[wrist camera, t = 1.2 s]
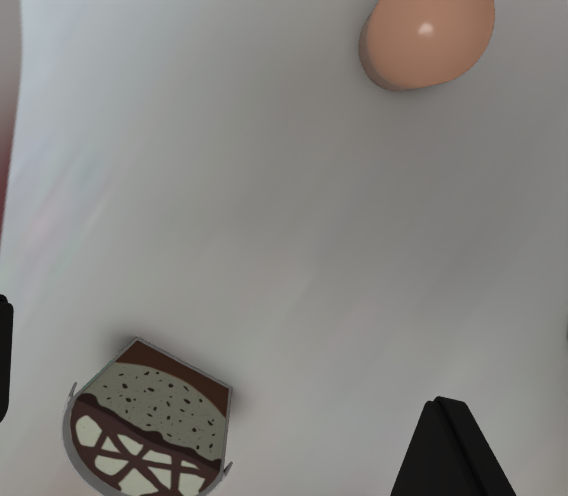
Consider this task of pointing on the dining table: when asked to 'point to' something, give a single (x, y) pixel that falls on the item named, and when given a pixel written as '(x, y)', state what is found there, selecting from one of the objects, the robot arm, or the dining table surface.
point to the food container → (148, 426)
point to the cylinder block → (424, 41)
